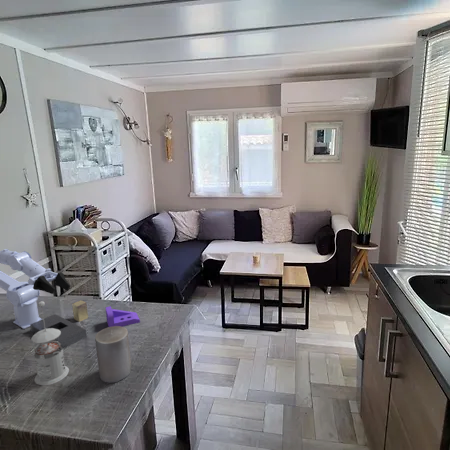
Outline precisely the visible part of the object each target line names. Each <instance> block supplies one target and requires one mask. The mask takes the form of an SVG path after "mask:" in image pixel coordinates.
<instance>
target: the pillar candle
mask: <svg viewBox="0 0 450 450" xmlns="http://www.w3.org/2000/svg"><path fill="white" fill-rule="evenodd" d="M94 341H95V348H96V355H97V356H96V357H97V365H98V373H99V378H100V380H101V381H102V382H105V383H108V384H109V383H111V384H112V383H113V384H114V383H117V382H119V381H121V380H124V379H125V378H127V377H129V375H130V374H131V372H132V360H131V352H130V344H129V343H130V342H129V333H128V329H127V328H126V327H125V326H122V327H121V326H113V327H108V326H107V327H105V328H102V329H101V330H100V331H98V332H97V333H96V334H95V335H94Z"/></svg>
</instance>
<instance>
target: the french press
mask: <svg viewBox="0 0 450 450" xmlns="http://www.w3.org/2000/svg"><path fill="white" fill-rule="evenodd" d="M45 305H46V304H45V301H43V300H42V301H39V302H38V303H37V307H38V308H39V307H41V314H42V319H43V321H44V319H45V315H44V309H43V307H44V306H45ZM44 328H45V322H44ZM33 334H34V335H32V336H31V339H30V340H31V342H32V343H33V349H34V352H35V353H34V360H35V367H36V373H37V374H36V375H35V377H34V383H35V384H36V385H40V386H49V385H53V384H56V383H58V382H60V381H62V380H63V379H65V377H67V376H68V374H69V372H70V368H69V367H68V366H66V364H65V358H64V350H63V349H64V348H63V349H62V347H61V343H60V342H58V341H54V340H55V339H57V338H58V337H59V336H60V334H61V331H60V330H58V329H54V328H48V329H46V328H45V329H44V330H41V331H39V332H37V333H36V334H35V333H33ZM35 344H36V345H37V344H38V346H37V347H35ZM59 348H60V349H59ZM55 352H56V353H55ZM42 356H43V357H44V358H43V357H42ZM44 366H45V367H44Z"/></svg>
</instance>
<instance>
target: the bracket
mask: <svg viewBox="0 0 450 450" xmlns="http://www.w3.org/2000/svg"><path fill="white" fill-rule="evenodd" d="M105 315H106V322H107V328H108V327H113V326H121V327H125V326H130V325H131V326H132V325H134V324H139V323H141V320H140V318H139V315H138V313H137V312H134V311H128V310H122V309H117V308H116V309H115V308H112V306H111V305H109V306H107V307H105Z"/></svg>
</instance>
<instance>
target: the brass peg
mask: <svg viewBox="0 0 450 450" xmlns="http://www.w3.org/2000/svg"><path fill="white" fill-rule="evenodd" d="M71 306H72V314H73V320H75V321H77V322H79V323H80V322H82V321H84V320H86V319H89V313H88V305H87V302H86V301H84V300H81V299H80V300H78V301H76V302H74V303H73V302H72V303H71Z"/></svg>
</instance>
